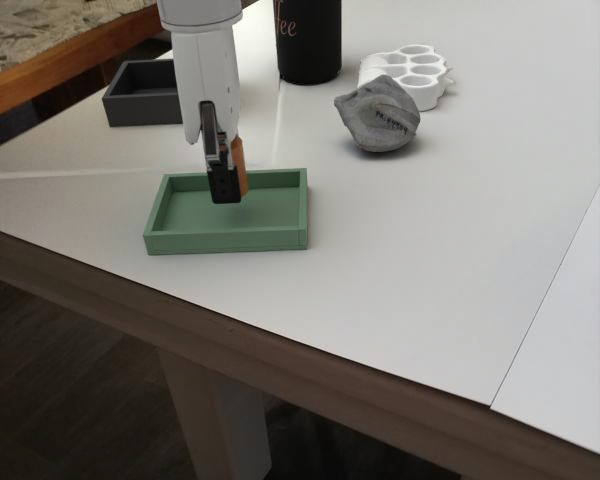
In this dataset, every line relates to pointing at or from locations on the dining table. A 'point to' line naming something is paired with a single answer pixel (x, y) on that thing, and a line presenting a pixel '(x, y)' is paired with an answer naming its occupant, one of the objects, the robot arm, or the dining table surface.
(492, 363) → the dining table surface
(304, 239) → the tray
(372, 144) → the fossil
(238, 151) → the orange cylinder
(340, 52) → the coffee jar
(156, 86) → the black box
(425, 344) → the dining table surface
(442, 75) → the white multi-well holder
